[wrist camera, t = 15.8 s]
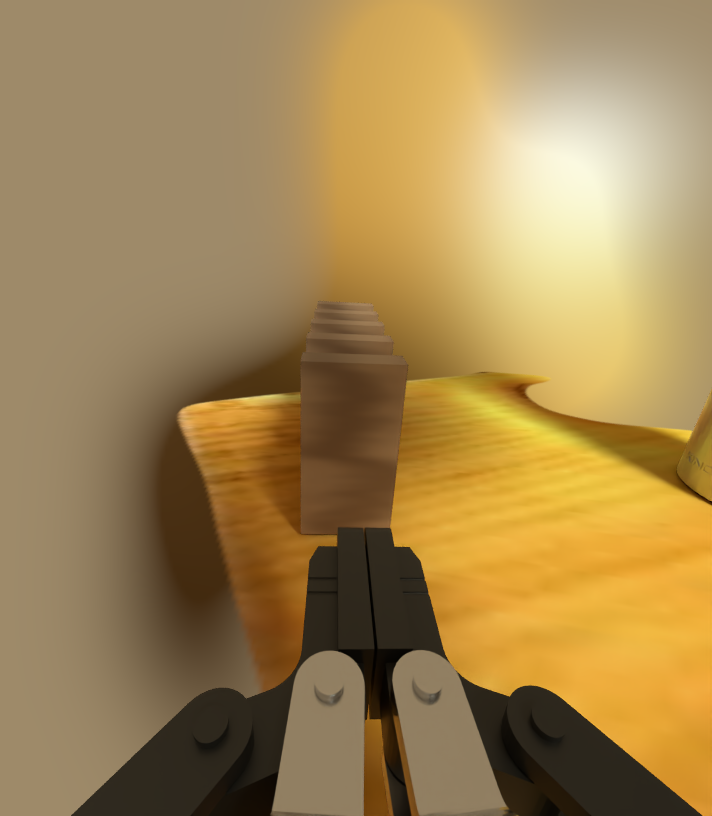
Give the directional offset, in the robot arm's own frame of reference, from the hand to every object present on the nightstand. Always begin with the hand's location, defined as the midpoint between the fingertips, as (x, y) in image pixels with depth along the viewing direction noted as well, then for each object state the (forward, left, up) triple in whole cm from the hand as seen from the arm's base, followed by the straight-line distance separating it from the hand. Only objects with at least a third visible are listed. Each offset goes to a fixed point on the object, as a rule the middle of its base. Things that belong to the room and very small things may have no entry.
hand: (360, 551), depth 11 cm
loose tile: (0, -10, -7) cm, 12 cm away
